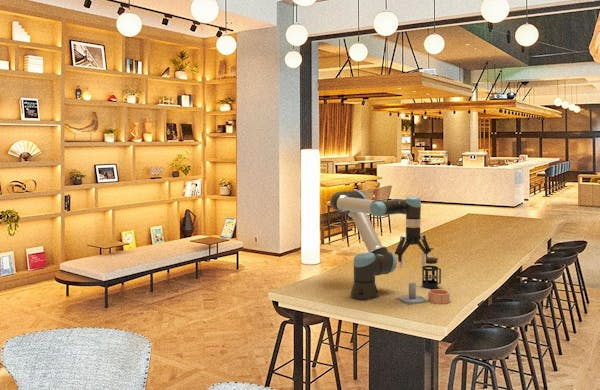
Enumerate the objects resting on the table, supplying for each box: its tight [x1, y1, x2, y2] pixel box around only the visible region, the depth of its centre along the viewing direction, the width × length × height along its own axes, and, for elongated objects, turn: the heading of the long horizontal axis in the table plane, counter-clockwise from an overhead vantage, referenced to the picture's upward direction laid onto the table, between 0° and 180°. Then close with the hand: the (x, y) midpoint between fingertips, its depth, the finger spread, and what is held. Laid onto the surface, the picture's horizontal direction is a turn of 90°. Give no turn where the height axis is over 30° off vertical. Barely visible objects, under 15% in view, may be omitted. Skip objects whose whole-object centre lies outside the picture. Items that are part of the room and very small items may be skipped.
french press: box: [421, 247, 442, 290], centre depth 322 cm, size 12×9×23 cm
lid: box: [399, 282, 425, 304], centre depth 296 cm, size 13×13×9 cm
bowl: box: [427, 288, 451, 305], centre depth 293 cm, size 10×10×5 cm
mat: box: [393, 297, 431, 306], centre depth 296 cm, size 14×14×1 cm
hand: (412, 266), depth 294 cm, fingers open, 13 cm apart
